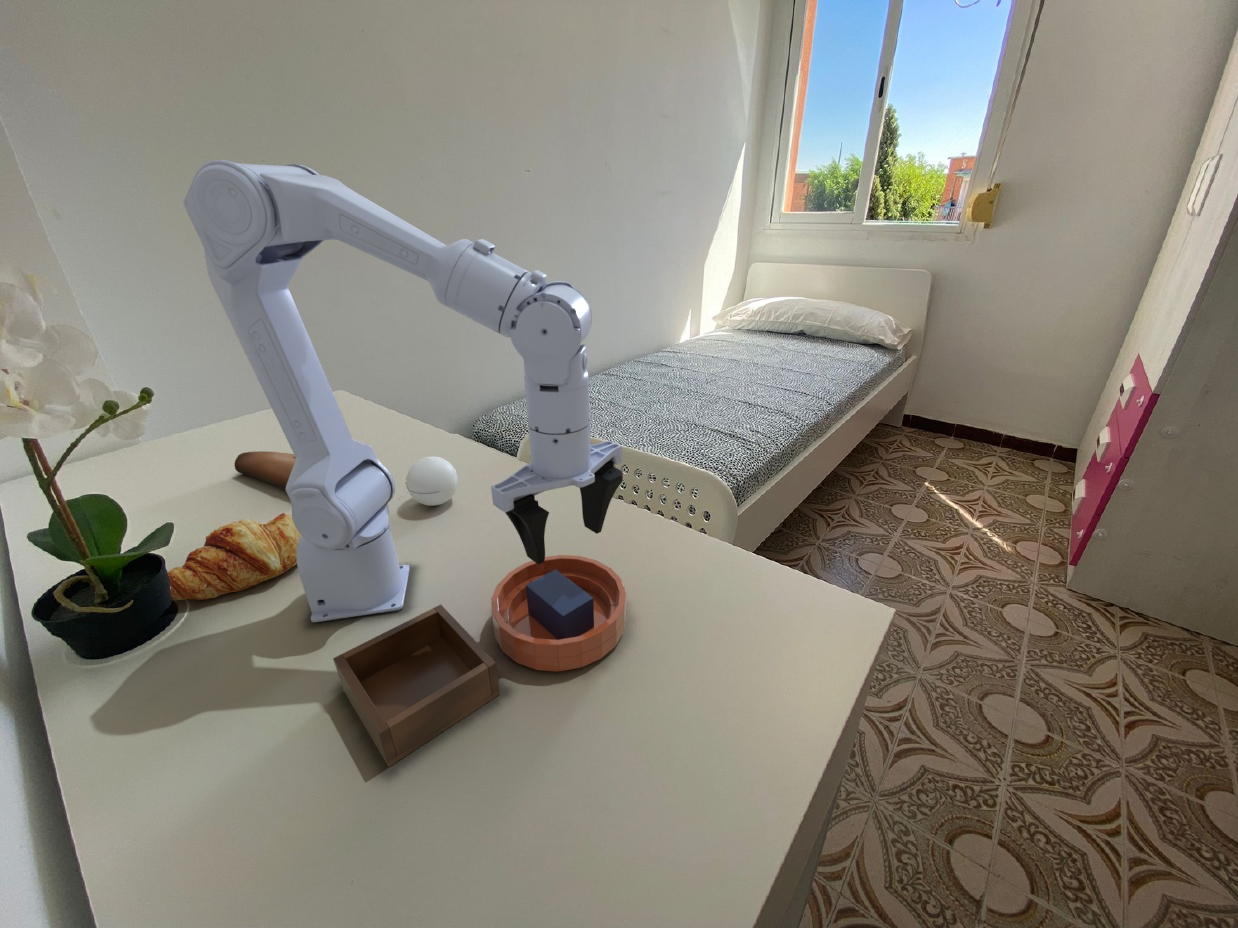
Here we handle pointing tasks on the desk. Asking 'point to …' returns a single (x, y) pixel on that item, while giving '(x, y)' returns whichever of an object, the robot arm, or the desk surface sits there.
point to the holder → (416, 681)
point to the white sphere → (431, 481)
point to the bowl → (535, 642)
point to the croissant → (237, 558)
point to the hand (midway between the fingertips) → (565, 543)
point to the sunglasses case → (266, 466)
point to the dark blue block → (560, 605)
